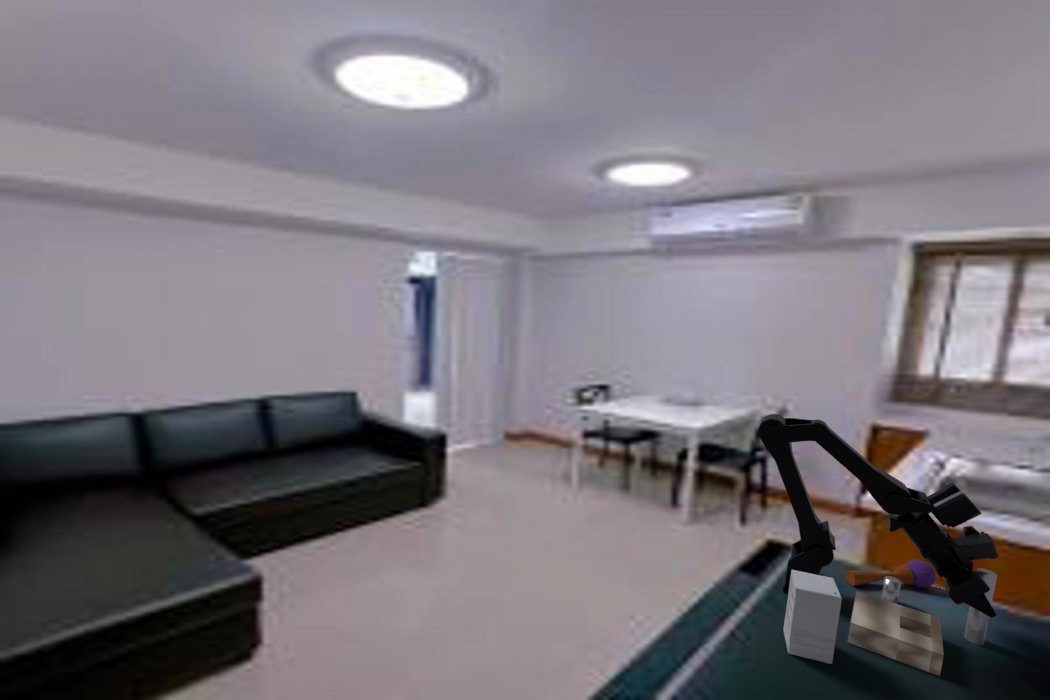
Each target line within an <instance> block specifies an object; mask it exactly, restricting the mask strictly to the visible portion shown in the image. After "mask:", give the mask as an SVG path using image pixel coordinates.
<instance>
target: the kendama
mask: <svg viewBox="0 0 1050 700" xmlns="http://www.w3.org/2000/svg"><path fill="white" fill-rule="evenodd" d="M936 574H937V573H936V570H935V568H934V567H933V566H932V565H930V563H928V562H926V561H924V560H922V559H912V560H910V561H908V562H905V564H901V565H899V566H898V567H897V568H895V569H894V570H893V571H892V572H883V571H869V570H868V571H865V570H864V571H863V570H846V571H845V572H844V577H845V581H846V582H847V584H849V586H851V587H855V586H856V587H857V586H861V585H864V584H865V585H866V584H870V583H876V582H880V581H884V578H885V576H891V577H895V578H897V579H899V580H900V581H901V583H904V584H906V585H911V586H914V587H916V588H921V589H923V588H924V589H927V588H929V587H931V586H932V585H934V584H935V581H936V576H937V575H936Z"/></svg>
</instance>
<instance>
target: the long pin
mask: <svg viewBox="0 0 1050 700" xmlns="http://www.w3.org/2000/svg"><path fill="white" fill-rule="evenodd" d="M976 572H978V573H979V574H980V576H981V577H982V578H983V579H984V580H985V582H986V583H987V585H988V586H989V588H990V590H989V591H988V592H986V593H984V594H985V596H986V597H987V599H988V601H989V603H990V604H991V606H992V605H993V599H994V594H995V589H996V583H997V579H998V574H997V572H994V571H992V570H990V569H987V568H981V567H979V568H976ZM989 619H990V617H989V616H987V615H985V614H983V613H982V612H980V611H978V610H976V609H975V608H973V607H971V606H969V609H968V615H967V621H966V625H965V631H964V637H963V638H964V639H965V640H966V641H967V642H969V643H971V644H973V645H977V646H983V645H985V640H986V635H987V630H988V625H989Z"/></svg>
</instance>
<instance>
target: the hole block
mask: <svg viewBox="0 0 1050 700" xmlns="http://www.w3.org/2000/svg"><path fill="white" fill-rule="evenodd" d="M942 634H943V633H942V625H941V618H940V617H938V616H934V615H933V614H932V615H931V614H929V613H926V612H923V611H920V610H916V609H913V608H912V607H911V608H910V607H907V606H905V605H901V604H895V603H892V602H889V601H886V600H883V599H881V597H880V598H879V597H877V596H874V595H870V594H867V593H864V592H860V591H857V590H856V592H855V597H854V602H853V608H852V613H851V618H850V623H849V630H848V636H847V643H848V644H850V645H851V644H852V645H854V646H856V647H860V648H862V649H865V650H866V651H867V650H868V651H870V652H872V653H875V654H879V655H881V656H884V657H886V658H888V659H891V660H895V661H897V662H899V663H903V664H905V665H908V666H910V667H913V668H916V669H918V670H921V671H923V672H927V673H929V674H933V675H936V676H938V677H940V676H941V673H942V665H943V662H944V661H943V660H944V644H943V635H942Z"/></svg>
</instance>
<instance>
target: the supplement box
mask: <svg viewBox="0 0 1050 700" xmlns="http://www.w3.org/2000/svg"><path fill="white" fill-rule="evenodd" d="M787 594H788V595H787V603H786V609H785V615H784V622H783V623H784V624H783V630H782V631H783V635H784V640H785V644H786V645H785V646H786V649H787V654H789V655H792V656H798V657H801V658H805V659H810V660H814V661H818V662H820V663H821V662H822V663H824V664H829V665H832V664H833V660H834V653H835V647H836V640H837V634H838V627H839V621H840V614H841V609H842V608H841V607H842V606H841V605H842V601H843V597H842V596H841V593H840V590H839V588H838V586H837V583H836V582H835V579H834V577H831V576H830V577H829V576H825V575H824V576H820V575H815V574H810V573H806V572H801V571H796V570H791V577H790V585H789V593H787Z"/></svg>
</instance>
